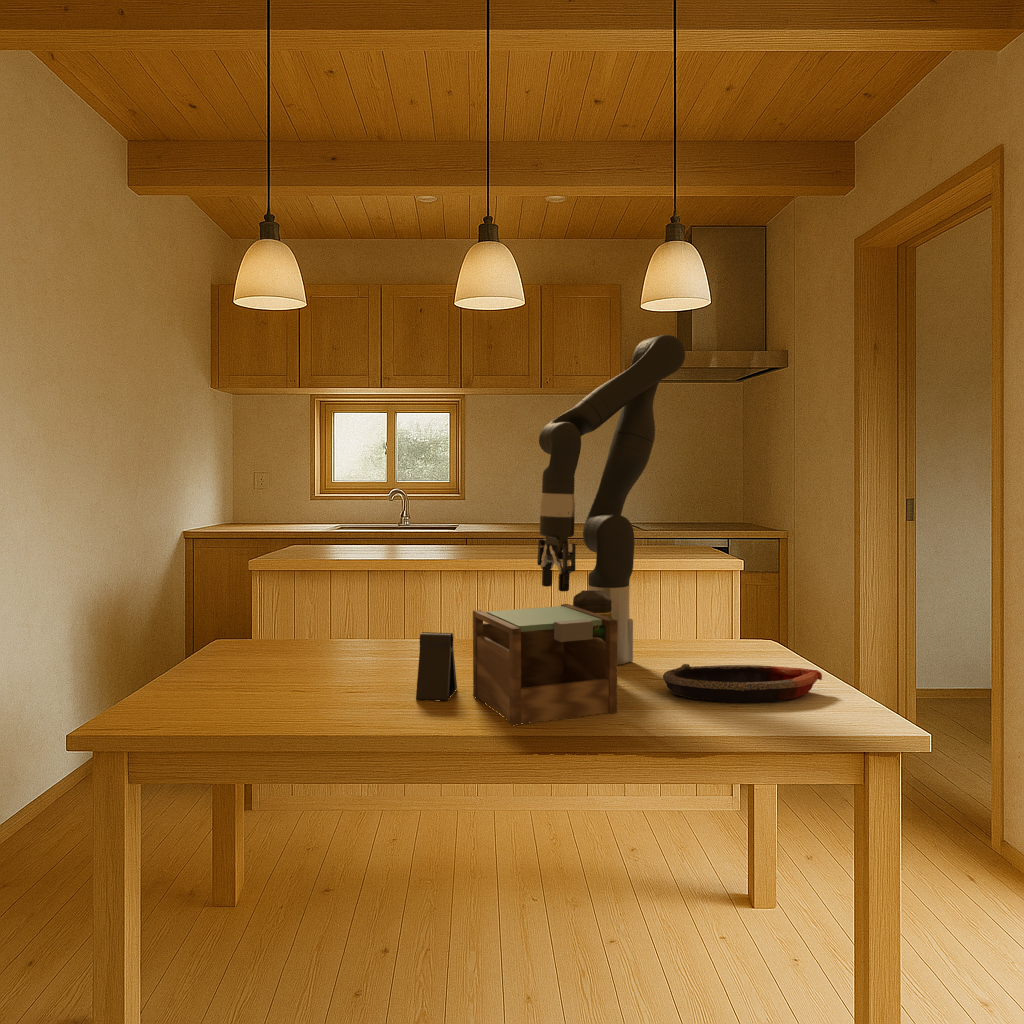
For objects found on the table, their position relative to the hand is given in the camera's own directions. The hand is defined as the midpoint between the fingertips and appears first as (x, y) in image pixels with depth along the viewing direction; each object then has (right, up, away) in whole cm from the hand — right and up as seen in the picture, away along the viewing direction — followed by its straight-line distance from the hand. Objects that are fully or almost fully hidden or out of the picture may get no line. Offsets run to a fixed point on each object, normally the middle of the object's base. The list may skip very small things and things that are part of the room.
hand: (555, 588), depth 183 cm
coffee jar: (+7, -18, -12) cm, 23 cm away
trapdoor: (-3, -4, -32) cm, 32 cm away
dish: (+35, -19, -22) cm, 45 cm away
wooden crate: (-4, -19, -28) cm, 34 cm away
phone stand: (-24, -19, -22) cm, 37 cm away
